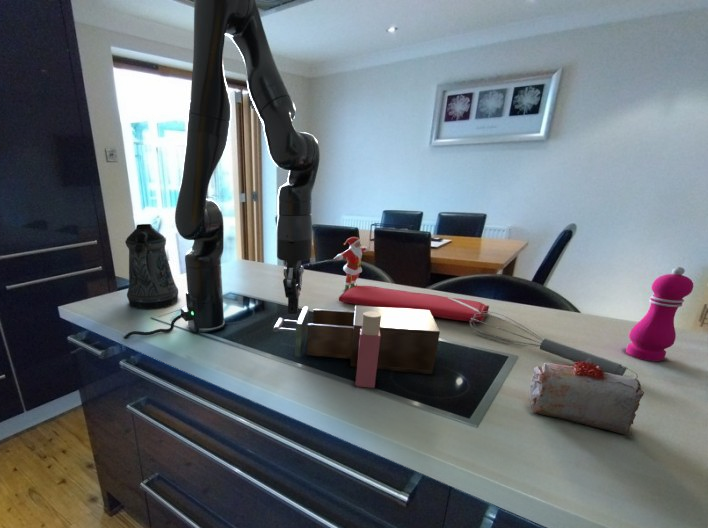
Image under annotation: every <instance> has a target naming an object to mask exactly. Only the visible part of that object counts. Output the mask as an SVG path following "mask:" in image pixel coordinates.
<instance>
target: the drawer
mask: <svg viewBox="0 0 708 528" xmlns="http://www.w3.org/2000/svg"><path fill="white" fill-rule="evenodd" d="M309 310H310V308H309V306H303V308H302V310H301V312H300V313H299V316H298V319H297V320H293V319H284V318H283V317H279V318H278V320H277V321H276V323H275V324H274V326H273V327H272V328H273V329H272V331H273V332H274V333H276V334H277V333H279V332H287V333H295V340H294V341H295V342H294V343H295V345H294V346H295V347H294V357H299V358H301V356H302V353H303V350H304V347H305V345H306V356H316V357H325V358H326V357H327V358H336V359H348V360H351V352H352V341H353V329H354V315H355V311H353V310H352V311H351V310H337V309H336V310H335V309H320V308H313V309H312V322H311V323H310V322H309V312H310V311H309ZM283 324H295V328H289V327H288V328H287V327H282V326H283Z"/></svg>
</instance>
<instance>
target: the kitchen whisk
mask: <svg viewBox="0 0 708 528" xmlns="http://www.w3.org/2000/svg"><path fill="white" fill-rule="evenodd" d="M484 312H488V313H487V314H486V315H481V316H485V317H486V316H489V317H491V318H494V319H498V320H501V321H503V322H506V323H508V324H510V325H512V326H514V327H516V328H518V329H520V330H522V331H524V332H526V333H527V334H529V335H531V336H532V337H534V338H536V339H538V340H540V341H538V340H535V339H532V338H530V337H526V336H523V335H521V334H518V333H515V332H513V331H510V330H507V329H504V328H501V327H498V326H495V325H493V324H491V323H490V324H489V323H487V322H484V321H482V322H481V321H479V320H476V319H473V318H475V316H476V314H475V316H473V318H471V320H476V321H478V322H477V323H481V324H483V325H486V326H490V327H491V328H495V329H498V330H501V331H504V332H506V333H508V334H512V335H515V336H518V337H520V338H524V339H526V340H530V341H533V342H536V343H530V342H525V341H519V340H514V339H509V338H505V337H500V336H497V335H494V334H490V333H487V332H485V331H483V330H481V329H480V328H478V327H477V325H476V324H475V322H474V321H473V322H471V321H469V326H471V329H472V330H473V332H476V331H478V332H480V333H483V334H486V335H488V336H491V337H493V339H492V338H489V337H487V336H485V335H482V334H480V333H478V332H476V334H477V335H479V336H480V337H483V338H485V339H488V340H490V341H495V342H498V343H499V342H500V343H502V341H501V340H504V341H503V343H505V344H507V342H508V341H509V342H508V344H511V345H514V343H515V345H517V346H521V344H522V345H523V346H525V347H531V346H534V347H535V348H537V347H538V348H539V350H541V351H544V352H547V353H550V354H552V355H555V356H557V357H561V358H562V359H566V360H569V361H571V362H574V363H575V362H578V361H579V362H582V361H586V360H587V359H591V360H592V363H594V365H597V366H600V367H601V368H602V369H603V372H606V373H611V374H615V375H620V376H624V374H626V371H627V370H628V371H631V372H632V373H634V374H635V375H636V377H635V378H636V379H637V380H638V378H639V377H638V375H639V374H637V373H636V372H635V371H633V370H632V369H630V368H628V367H627V366H624V365H622V364H621V363H618V362H616V361H612V360H609V359H607V358H604V357H601V356H598V355H595V354H592V353H590V352H588V351H587V352H586V351H583V350H580V349H578V348H575V347H572V346H570V345H566V344H563V343H560V342H557V341H554V340H551V339H549V338H542V337H540V336H539V335H537V334H536V333H534V332H533V331H531V330H530V329H529V328H527V327H526V326H524V325H522V324H520V323H519V322H517V321H515V320H514V319H512V318H509V317H508V316H506V315H502V314H500V313H498V312H494V311H491V313H492V314H490V311H489V310H488V311H484ZM477 314H485V313H481V312H479V313H477ZM493 314H495V315H499V316H502V317H503V318H506V319H508V320H510V321H512V322H514V323H515V324H513V323H511V322H510V321H507V320H506V319H502V318H500V317H498V316H495V315H493ZM476 317H478V316H476ZM472 323H473V325H474V326H475V327H474V326H473V325H472ZM516 324H518V325H519V326H518V325H516ZM520 326H521V327H520ZM525 329H526V330H525ZM494 338H496V339H494ZM497 339H500V340H497ZM506 341H507V342H506ZM537 343H538V344H537Z"/></svg>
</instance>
